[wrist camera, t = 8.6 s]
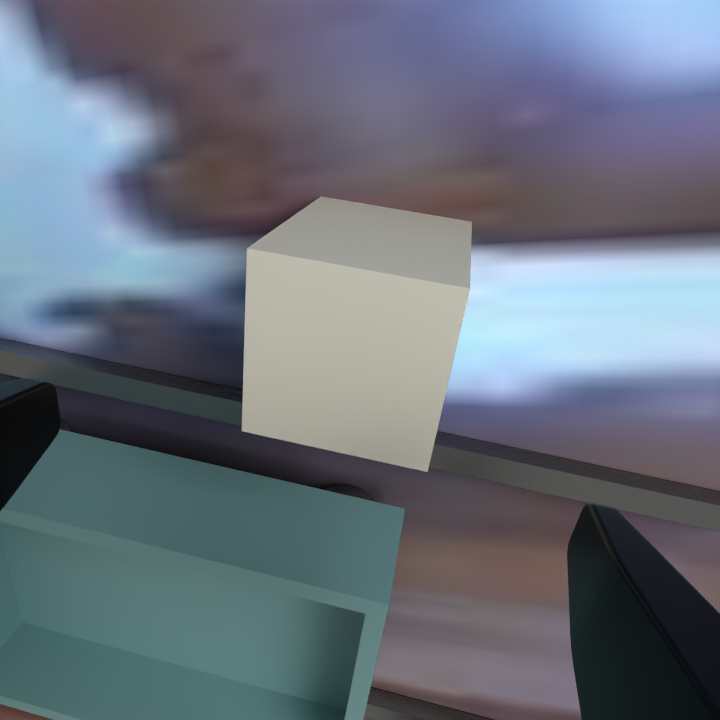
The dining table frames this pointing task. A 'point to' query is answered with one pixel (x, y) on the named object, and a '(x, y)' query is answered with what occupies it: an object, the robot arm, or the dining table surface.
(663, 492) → the cart rails
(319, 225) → the part block
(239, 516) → the teal tray
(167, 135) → the dining table surface
